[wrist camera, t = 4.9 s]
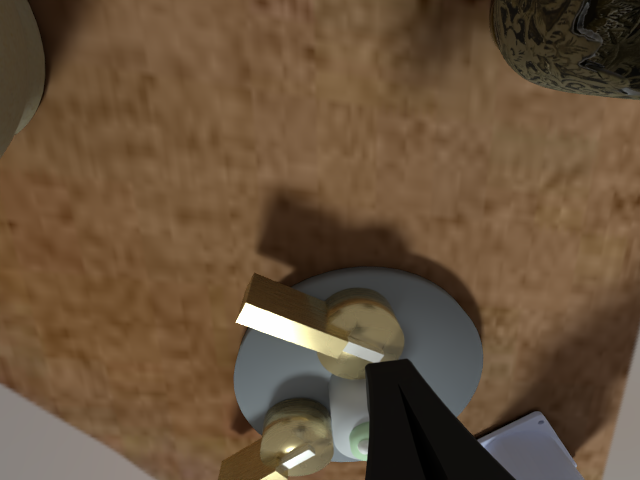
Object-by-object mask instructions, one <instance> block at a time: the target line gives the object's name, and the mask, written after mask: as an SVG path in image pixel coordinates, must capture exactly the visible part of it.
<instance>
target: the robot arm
mask: <svg viewBox="0 0 640 480" xmlns="http://www.w3.org/2000/svg"><path fill="white" fill-rule="evenodd" d="M365 378H366V394H367V408H368V413H369V442H368V454H367V467H366V477H365V480H585V479H584V478H583V477H582V475H581V474H580V473H579V472H578V470H577V469H576V467H577V464H576V463H575V461H574V460H573V458H572V457H571V455H570V454H569V452H568V451H567V449H566V448H565V446H564V445H563V443H562V442H561V440H560V439H559V437H558V436H557V434H556V433H555V431H554V430H553V428H552V427H551V425H550V424H549V422H548V421H547V419H546V418H545V416H544V415H543V414H542V413H541V412H539V411H535V412H533V413H531V414H529V415H526V416H524V417H522V418H520V419H518V420H516V421H514V422H512V423H510V424H508V425H506V426H504V427H502V428H500V429H498V430H496V431H494V432H492V433H490V434H488V435H486V436H484V437H482V438H480V439H478V440H476V439H475V437H474V436H473V435H472V434H471V433H470V432H469V431H468V430H467V429H466V428H465V427H464V425H463V424H462V423H461V422H460V421H459V420H458V419H457V418H456V416H455V415H454V414H453V413H452V412H451V411H450V410H449V409H448V407H447V406H446V405H445V404H444V403H443V402H442V400H441V399H440V398H439V397H438V396H437V394H436V393H435V392H434V391H433V389H432V388H431V387H430V386H429V384H428V383H427V382H426V381H425V379H424V378H423V377H422V376H421V374H420V373H419V372H418V370H417V369H416V368H415V366H414V365H413V363H412V362H411V361H410V360H409V359H399V360H391V361H384V362H376V363H368V364H367V365H366V366H365Z"/></svg>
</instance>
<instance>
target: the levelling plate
mask: <svg viewBox="0 0 640 480" xmlns="http://www.w3.org/2000/svg"><path fill="white" fill-rule="evenodd" d="M290 288H293V289H295V290H298V291H300V292H303V293H305V294H308V295H310V296H312V297H315V298H317V299H320V300H322V301H325V300H326V299H327V298H328V297H329V296H331V295H333V294H334V293H336V292H338V291H341V290H344V289H348V288H367V289H371V290H374V291H376V292H378V293H380V294H381V295H383V296H384V297H385V298H386V299H387V301H388V302H389V303H390V305H391V307H392V309H393V312H394V314H395V316H396V318H397V320H398V323H399V325H400V327H401V329H402V332H403V334H404V349H403V352H402V354H401V356H400V358H399V359H409V360H410V361H411V362H412V363H413V365H414V366H415V368H416V369H417V370H418V372H419V373H420V374H421V376H422V377H423V378H424V379H425V381H426V382H427V383H428V384H429V386H430V387H431V388H432V389H433V391H434V392H435V393H436V394H437V396H438V397H439V398H440V399H441V400H442V402H443V403H444V404H445V405H446V406H447V407H448V409H449V410H450V411H451V412H452V413H453V414H454V415H455V416H456V417H457V416H458V415H459V414H460V413H461V412H462V411H463V409H464V408H465V407H466V405H467V404H468V403H469V401H470V400H471V398H472V396H473V394H474V393H475V391H476V388H477V386H478V383H479V381H480V377H481V373H482V368H483V350H482V343H481V340H480V337H479V334H478V331H477V329H476V328H475V326H474V324H473V322H472V320H471V319H470V318H469V316H468V315H467V314H466V313H465V311H464V310H463V309H462V308H461V307H460V305H459V304H458V303H457V302H456V300H455V299H454V298H453V297H452V296H451V295H449V294H448V293H447V292H446V291H445V290H444V289H442V288H441V287H439V286H438V285H436V284H435V283H433V282H431V281H430V280H427V279H425V278H423V277H421V276H418V275H416V274H413V273H409V272H406V271H402V270H398V269H392V268H385V267H353V268H344V269H339V270H334V271H329V272H326V273H323V274H320V275H316V276H313V277H311V278H308V279H306V280H304V281H302V282H300V283H297V284H295V285H294V286H292V287H290ZM399 359H398V360H399ZM234 390H235V394H236V398H237V402H238V404H239V407H240V409H241V411H242V413H243V415H244V416H245V418H246V419H247V421H248V422H249V423H250V424H251V426H252V427H253V428H254V429H255V430H256V431H257V432H258V433H259V434H261V435H262V432H263V423H264V417H265V415H266V413H267V412H268V410H269V409H270V408H271V407H273V406H274V405H275V404H277V403H279V402H282V401H284V400H288V399H294V398H304V399H310V400H313V401H316V402H318V403H320V404H322V405H323V406H324V407H325V408H326V409H327V410H328V412H329V414H330V417H331V427H332V437H333V447H334V454H333V457H332V459H331V461H335V462H355V461H367V454H368V442H369V413H368V408H367V394H366V379H357V380H354V379H345V378H341V377H338V376H336V375H334V374H332V373H330V372H329V371H328V370H326V369H325V368H324V367H323V365H322V364H321V363H320V361H319V358H318V355H317V351H314V350H312V349H309V348H306V347H303V346H301V345H298V344H295V343H292V342H290V341H287V340H284V339H281V338H279V337H276V336H273V335H270V334H268V333H265V332H262V331H259V330H256V329H254V328H251V327H248V329H247V331H246V333H245V335H244V337H243V339H242V343H241V346H240V349H239V353H238V357H237V361H236V365H235V372H234Z"/></svg>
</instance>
